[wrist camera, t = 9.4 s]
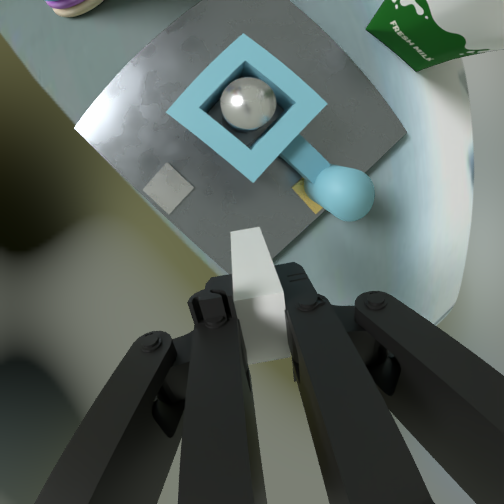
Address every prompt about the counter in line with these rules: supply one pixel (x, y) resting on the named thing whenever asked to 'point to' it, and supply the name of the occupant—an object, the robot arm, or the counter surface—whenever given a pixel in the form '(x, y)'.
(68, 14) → the stacking toy
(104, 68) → the counter surface
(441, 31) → the milk carton
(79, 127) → the post plate
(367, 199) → the blue handled square frame
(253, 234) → the robot arm
